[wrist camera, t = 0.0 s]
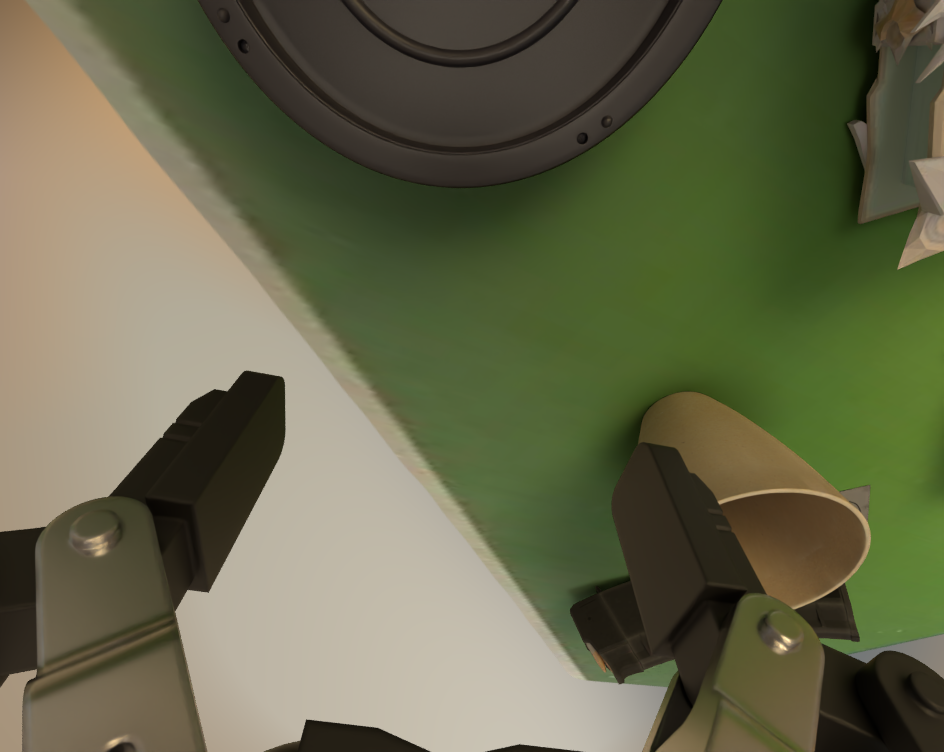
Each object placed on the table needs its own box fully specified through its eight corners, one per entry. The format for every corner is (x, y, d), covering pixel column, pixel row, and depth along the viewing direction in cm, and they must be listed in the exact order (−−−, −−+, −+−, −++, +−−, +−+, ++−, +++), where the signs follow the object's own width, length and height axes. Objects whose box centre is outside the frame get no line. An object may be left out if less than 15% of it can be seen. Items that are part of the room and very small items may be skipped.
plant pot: (591, 376, 45) (636, 510, 31) (762, 341, 42) (890, 470, 29) (610, 488, 52) (652, 633, 39) (755, 463, 50) (853, 610, 37)
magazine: (908, 606, 47) (631, 746, 46) (906, 623, 48) (639, 759, 48) (772, 491, 61) (562, 597, 61) (774, 507, 63) (569, 611, 63)
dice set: (801, 508, 53) (811, 522, 52) (852, 497, 52) (864, 511, 51) (802, 537, 56) (812, 551, 54) (851, 527, 55) (862, 541, 53)
